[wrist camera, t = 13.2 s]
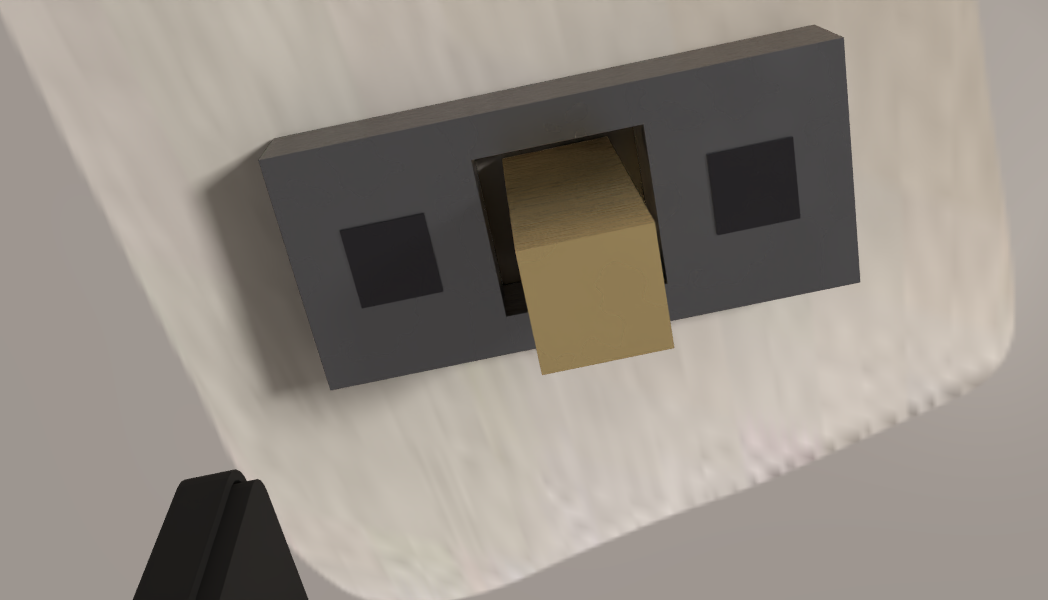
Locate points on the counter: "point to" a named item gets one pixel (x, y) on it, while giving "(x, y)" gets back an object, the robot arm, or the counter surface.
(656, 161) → the grey peg hole board
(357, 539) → the counter surface
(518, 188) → the brass peg
